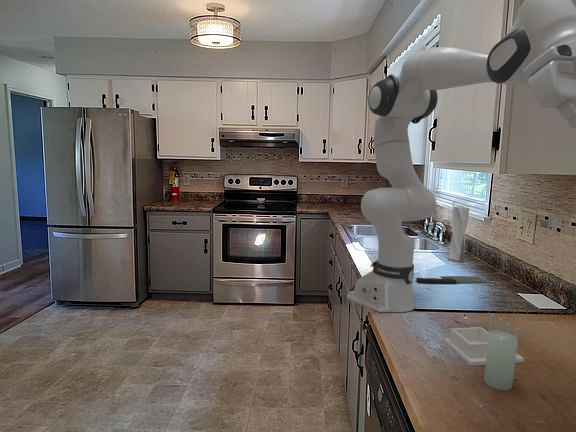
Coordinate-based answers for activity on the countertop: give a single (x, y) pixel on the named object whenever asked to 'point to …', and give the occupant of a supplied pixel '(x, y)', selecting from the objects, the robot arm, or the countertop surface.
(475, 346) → the dish rack
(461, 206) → the skyscraper
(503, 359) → the sage green cylinder
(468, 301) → the countertop surface
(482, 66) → the robot arm
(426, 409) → the countertop surface
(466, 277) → the cleaver
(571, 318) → the countertop surface
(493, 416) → the countertop surface
